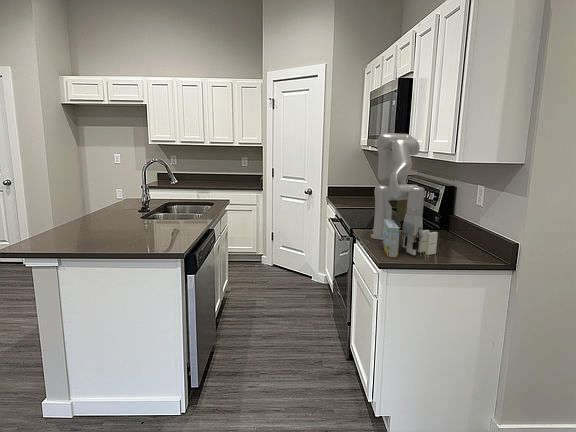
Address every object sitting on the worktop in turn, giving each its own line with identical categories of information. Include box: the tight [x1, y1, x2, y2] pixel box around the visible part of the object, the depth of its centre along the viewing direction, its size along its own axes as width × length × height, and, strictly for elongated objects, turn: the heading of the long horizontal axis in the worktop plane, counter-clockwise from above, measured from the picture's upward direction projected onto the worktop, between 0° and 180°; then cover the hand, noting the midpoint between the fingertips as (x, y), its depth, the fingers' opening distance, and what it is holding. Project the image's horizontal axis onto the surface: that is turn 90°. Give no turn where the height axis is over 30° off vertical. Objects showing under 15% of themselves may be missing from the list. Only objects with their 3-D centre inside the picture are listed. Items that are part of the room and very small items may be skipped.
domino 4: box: [424, 231, 439, 256], centre depth 202 cm, size 1×6×11 cm, turn 120°
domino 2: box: [405, 234, 418, 256], centre depth 200 cm, size 1×6×11 cm, turn 18°
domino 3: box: [417, 229, 431, 253], centre depth 207 cm, size 1×6×11 cm, turn 120°
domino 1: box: [402, 234, 407, 249], centre depth 215 cm, size 1×6×11 cm, turn 120°
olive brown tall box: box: [395, 199, 408, 222], centre depth 292 cm, size 11×10×20 cm
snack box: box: [382, 218, 400, 258], centre depth 204 cm, size 21×6×15 cm, turn 174°
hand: (411, 247), depth 201 cm, fingers closed on domino 2, 5 cm apart
